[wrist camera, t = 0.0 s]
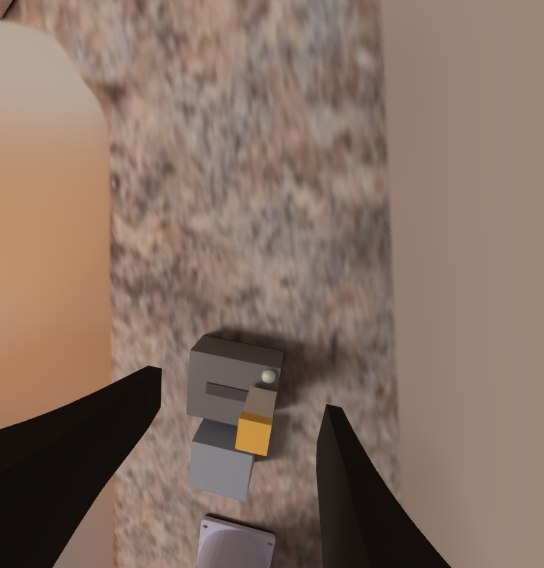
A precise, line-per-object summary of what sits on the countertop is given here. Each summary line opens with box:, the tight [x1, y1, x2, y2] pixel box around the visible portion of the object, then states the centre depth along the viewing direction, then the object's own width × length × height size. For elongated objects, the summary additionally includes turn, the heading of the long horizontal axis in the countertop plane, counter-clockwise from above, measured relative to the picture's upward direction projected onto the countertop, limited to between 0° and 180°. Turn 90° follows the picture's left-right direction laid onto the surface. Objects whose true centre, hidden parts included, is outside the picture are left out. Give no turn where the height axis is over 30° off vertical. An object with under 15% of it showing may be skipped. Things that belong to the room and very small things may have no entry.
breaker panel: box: [187, 335, 284, 426], centre depth 21 cm, size 6×7×3 cm
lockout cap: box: [189, 418, 255, 502], centre depth 23 cm, size 5×5×4 cm
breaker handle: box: [235, 387, 277, 456], centre depth 18 cm, size 2×2×3 cm
